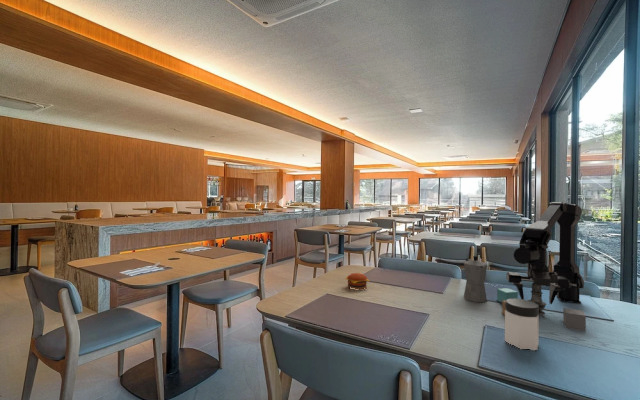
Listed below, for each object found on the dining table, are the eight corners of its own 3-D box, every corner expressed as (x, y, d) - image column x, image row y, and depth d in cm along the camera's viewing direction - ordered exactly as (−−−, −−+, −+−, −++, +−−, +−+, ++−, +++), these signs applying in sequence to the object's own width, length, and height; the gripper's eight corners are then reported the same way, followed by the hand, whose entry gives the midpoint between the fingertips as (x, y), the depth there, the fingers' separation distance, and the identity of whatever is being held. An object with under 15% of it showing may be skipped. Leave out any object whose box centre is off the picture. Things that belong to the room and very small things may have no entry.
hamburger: (343, 286, 145) (343, 272, 145) (360, 283, 149) (360, 270, 149) (354, 291, 136) (354, 277, 136) (371, 289, 141) (371, 274, 141)
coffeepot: (494, 304, 120) (494, 259, 120) (470, 304, 120) (470, 259, 120) (477, 292, 135) (477, 252, 135) (455, 291, 136) (455, 252, 136)
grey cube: (582, 325, 100) (582, 310, 100) (585, 331, 96) (585, 315, 96) (563, 322, 103) (563, 307, 103) (565, 327, 99) (565, 312, 99)
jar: (507, 334, 94) (507, 296, 94) (539, 342, 89) (540, 301, 89) (502, 344, 88) (502, 304, 87) (537, 354, 82) (537, 310, 82)
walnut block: (516, 314, 110) (516, 300, 110) (524, 320, 105) (524, 305, 105) (502, 313, 111) (502, 300, 111) (509, 319, 106) (509, 305, 106)
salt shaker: (549, 315, 109) (549, 282, 108) (531, 314, 110) (531, 281, 110) (541, 309, 114) (541, 278, 114) (523, 308, 115) (524, 277, 115)
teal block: (508, 300, 125) (508, 288, 125) (517, 304, 120) (517, 291, 120) (497, 300, 125) (497, 288, 124) (506, 304, 120) (506, 292, 120)
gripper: (512, 263, 108) (511, 306, 108) (577, 267, 101) (576, 314, 101) (506, 257, 118) (505, 296, 118) (564, 261, 111) (564, 303, 111)
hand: (536, 302), depth 112 cm, fingers closed on salt shaker, 8 cm apart
